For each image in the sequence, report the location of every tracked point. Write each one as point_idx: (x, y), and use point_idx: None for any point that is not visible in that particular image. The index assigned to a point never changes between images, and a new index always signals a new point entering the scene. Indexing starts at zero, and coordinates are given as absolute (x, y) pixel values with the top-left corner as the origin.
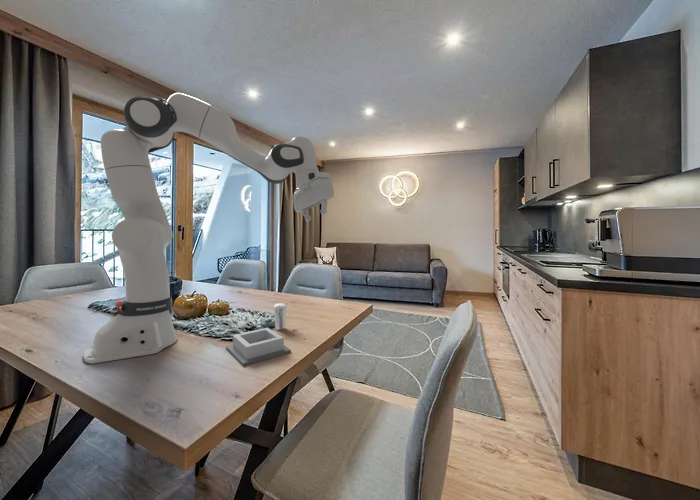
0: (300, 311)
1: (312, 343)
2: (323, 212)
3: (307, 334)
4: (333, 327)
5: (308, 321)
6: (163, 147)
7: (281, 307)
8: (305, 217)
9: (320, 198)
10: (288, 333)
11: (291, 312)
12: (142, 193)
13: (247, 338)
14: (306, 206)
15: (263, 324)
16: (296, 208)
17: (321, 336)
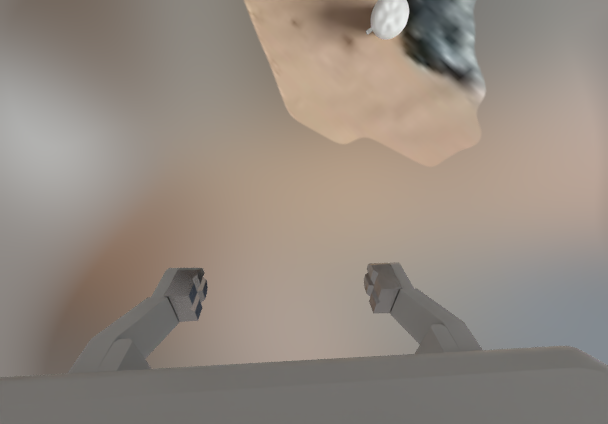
0: (430, 145)
1: (267, 19)
2: (167, 271)
3: (310, 48)
4: (303, 117)
5: (366, 108)
6: None
7: (373, 9)
8: (400, 281)
9: (36, 388)
10: (344, 16)
11: (445, 125)
12: None
13: None
14: (362, 359)
15: (445, 4)
16: (588, 385)
17: (283, 63)
